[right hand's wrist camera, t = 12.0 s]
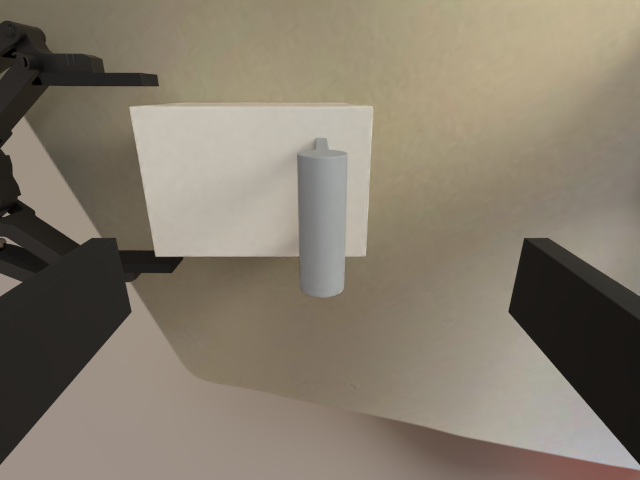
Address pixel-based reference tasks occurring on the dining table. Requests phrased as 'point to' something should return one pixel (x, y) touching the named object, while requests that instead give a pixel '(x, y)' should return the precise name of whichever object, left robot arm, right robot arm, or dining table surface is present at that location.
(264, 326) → the dining table surface
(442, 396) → the dining table surface
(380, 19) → the dining table surface
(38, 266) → the left robot arm
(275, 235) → the grey and white piece
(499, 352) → the dining table surface
